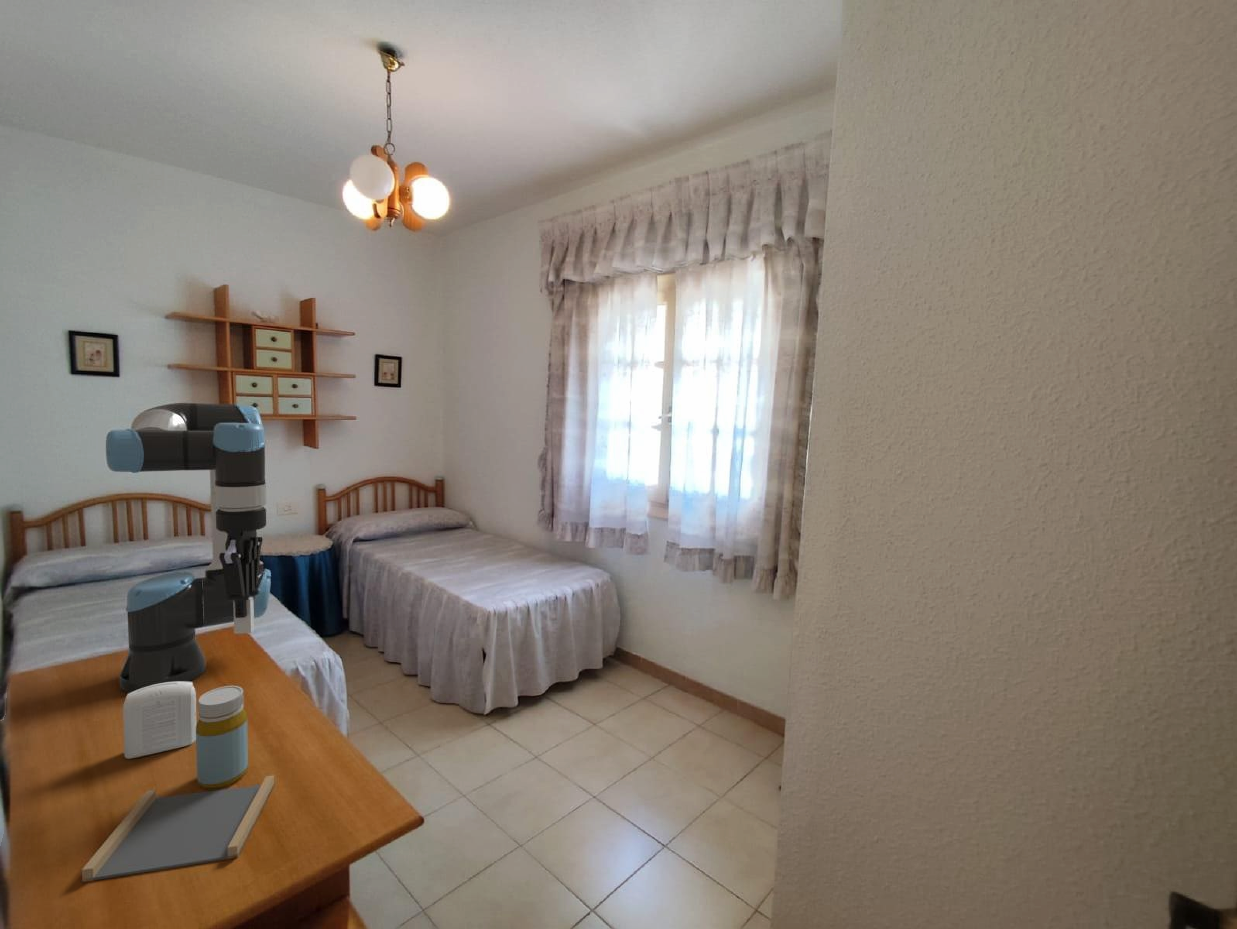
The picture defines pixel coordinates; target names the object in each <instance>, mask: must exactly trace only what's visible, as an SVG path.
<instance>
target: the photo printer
mask: <svg viewBox="0 0 1237 929" xmlns="http://www.w3.org/2000/svg"><path fill="white" fill-rule="evenodd" d="M196 694H197V692H196V688H195V687H194V683H193V681H189V682H185V681H176V682H165V683H159V684H155V685H151V686H147V687H144V688H141V689H138V690H136V691H133V692H131V693H130V692H128V693H127V695H126V697H125V701H124V702H123V706H122V716H123V717H122V719H123V720H122V721H123V751H124V756H123V757H124V758H126V759H128V760H130V759H135V758H140V757H144V756H148V755H153V754H157V753H158V754H159V753H162V752H166V751H170V750H175V749H179V748H182V747H187V746H190V745H192V744H194V743H196V725H197V697H196V696H197V695H196Z"/></svg>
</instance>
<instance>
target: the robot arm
mask: <svg viewBox="0 0 1237 929" xmlns="http://www.w3.org/2000/svg"><path fill="white" fill-rule="evenodd" d="M266 442H267V441H266V438H265V429H264V426H263V421H262V418H261V415H260V413H259V411H258V409H257V408H256V407H254V406H253V405H245V404H244V405H242V404H237V403H233V404H232V403H231V404H228V403H193V402H191V403H190V402H174V403H168V404H163V405H158V406H155V407H154V406H153V407H151V408H148V409H146V410H144V411H142V412H140V413H138V414H137V415H136V417H134V419H133V421H131V426H130V428H127V429H126V428H125V429H113V430H110V431H109V432H107V434H106V437H105V455H106V456H105V457H106V464H107V467H108V468H109V470H111V471H112V472H115V473H135V474H136V473H141V472H143V473H144V472H170V471H171V472H172V471H174V472H175V471H209V480H210V481H209V484H210V512H211V513H210V514H211V539H212V541H211V543H212V547H211V548H212V562H211V563H210V564H209V565H208V566H207V567H206V568H205V569H204V573H205V574H204V575H205V576H204V577H203V576H202V577H198V578H195V575H194V574H193V573H192V572H188V571H183V572H180V571H178V572H171V573H166V574H161V575H157V576H154V577H150V578H147V579H145V580H143V581H141V582H138V583H136V584H134V585H133V586H132V587H131V588H130V589H129V590H128V592H127V595H126V596H127V598H126V606H125V611H126V613H127V628H128V629H127V632H128V653H127V655H126V657H125V659H124V663H123V667H122V669H121V671H120V674H119V678H118V679H119V688H120V690H122V691H124V692H127V693H131V692H133V691H136V690H138V689H141V688H144V687H147V686H151V685H155V684H159V683H165V682H176V681H185V682H192V681H193V680H194V679H196V678H198V677H200V676H201V675H202V674H203V673H204V672H205V671H206V667H207V666H206V664H207V662H206V656H205V655H204V653H203V650H202V648H201V646H200V644H199V642H198V641H197V638H196V629H201V628H206V627H213V626H217V625H218V626H219V625H223V624H224V625H225V624H231V623H233V634H234V635H237V634H251V633H253V631H254V630H255V619H257V618H260V617H262V616H264V614H266V611H267V609H268V606H269V601H270V592H271V585H272V582H271V577H272V573H271V570H270V569H267V568H264V562H263V561H261V549H262V544H263V536H258V535H257V534H258V533H257V530H261V529H263V528H266V526H267V509H266V508H265V507H264V506H265V505H267V484H266Z"/></svg>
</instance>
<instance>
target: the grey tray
mask: <svg viewBox="0 0 1237 929" xmlns="http://www.w3.org/2000/svg"><path fill="white" fill-rule="evenodd" d="M274 786H275V775H267V776H265V777H264V779H263V780H262V783H261V784H256V785H249V786H242V787H241V786H240V787H233V788H225V789H215V790H210V791H209V790H208V791H200V792H193V793H185V794H179V795H169V796H163V797H162V796H161V797H157V790H156V789H153V790H147V791H146V792H145V793H144V794H143V795H142V796H141V797H140V799H139V800H138V801H137V802H136V804H135V805H134V806H133V807H132V809H131V810H130V811H129V813H127V815H126V816H125V817H124V818H123V820H121V822H120V823H119V824H118V825H117V827H116V828H115V829H114V830H113V831H112V833H110V835H109V836H108V837H107V838H106V840H105V841H104V843H103V844H102V845H101V846H100V847H99V848H98V850H97V851H96V852H95V853H94V854H93V856H92V857H90V859H89V860H88V862H87V863H86V864H85V865H84V866H83V867H82V868H81V879H82V880H81V881H82V883H85V882H92V881H93V882H94V881H98V880H99V881H100V880H103V879H104V880H105V879H111V878H117V877H124V876H129V875H135V874H143V873H148V872H154V871H160V870H167V869H174V868H180V867H188V866H192V865H199V864H205V863H212V862H217V861H223V860H230V859H236V858H238V857H239V856H240V854H241V851H242V850H243V847H244V845H246V844H245V843H246V842H247V840H248V838H249V836H250V835H251V832H252V830H253V828H254V826H255V824H256V822H257V820H258V818H259V817H260V815H261V812H262V810H263V808H264V806H265V805H266V802H267V800H268V799H269V796H270V794H271V792H272V790H273V788H274Z"/></svg>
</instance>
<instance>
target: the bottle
mask: <svg viewBox="0 0 1237 929" xmlns="http://www.w3.org/2000/svg"><path fill="white" fill-rule="evenodd" d="M244 699H245V698H244V688H242V687H241V686H238V685H226V686H220V687H217V688H214V689H212V690H208V691H207V692H205V693H203V694H201V696H200V697H199V698H198V701H197V705H198V706H197V707H198V710H197V711H198V721H196V740H195V747H196V748H195V750H196V751H195V752H196V775H197V776H196V780H197V784H198V786H200V787H201V788H204V789H205V790H219V789H222V788H225V787H227V786H230V785H232V784H233V783H235V782H237V781H238V780H240V779H242V777H243V776H244V775H245V774H246V772H247V771H248V767H249V755H248V754H249V753H248V752H249V751H248V750H249V747H248V746H249V745H248V716H247V711H246V710H245V708H244V705H245V704H244Z"/></svg>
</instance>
